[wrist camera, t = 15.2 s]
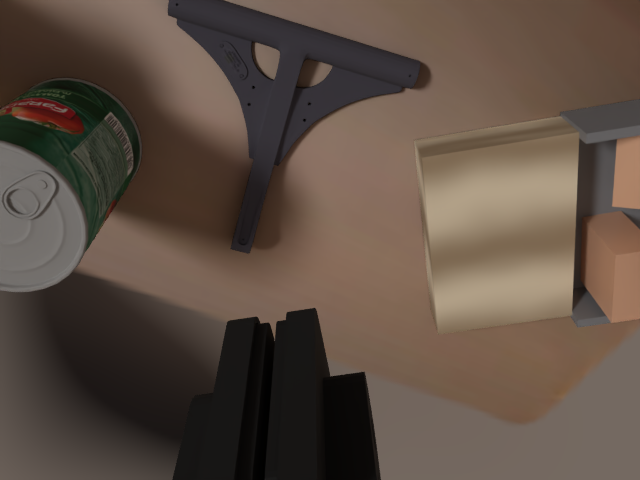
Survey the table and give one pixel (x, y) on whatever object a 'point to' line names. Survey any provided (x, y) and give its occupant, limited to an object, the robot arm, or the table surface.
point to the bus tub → (598, 184)
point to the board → (499, 223)
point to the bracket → (284, 83)
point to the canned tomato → (60, 177)
